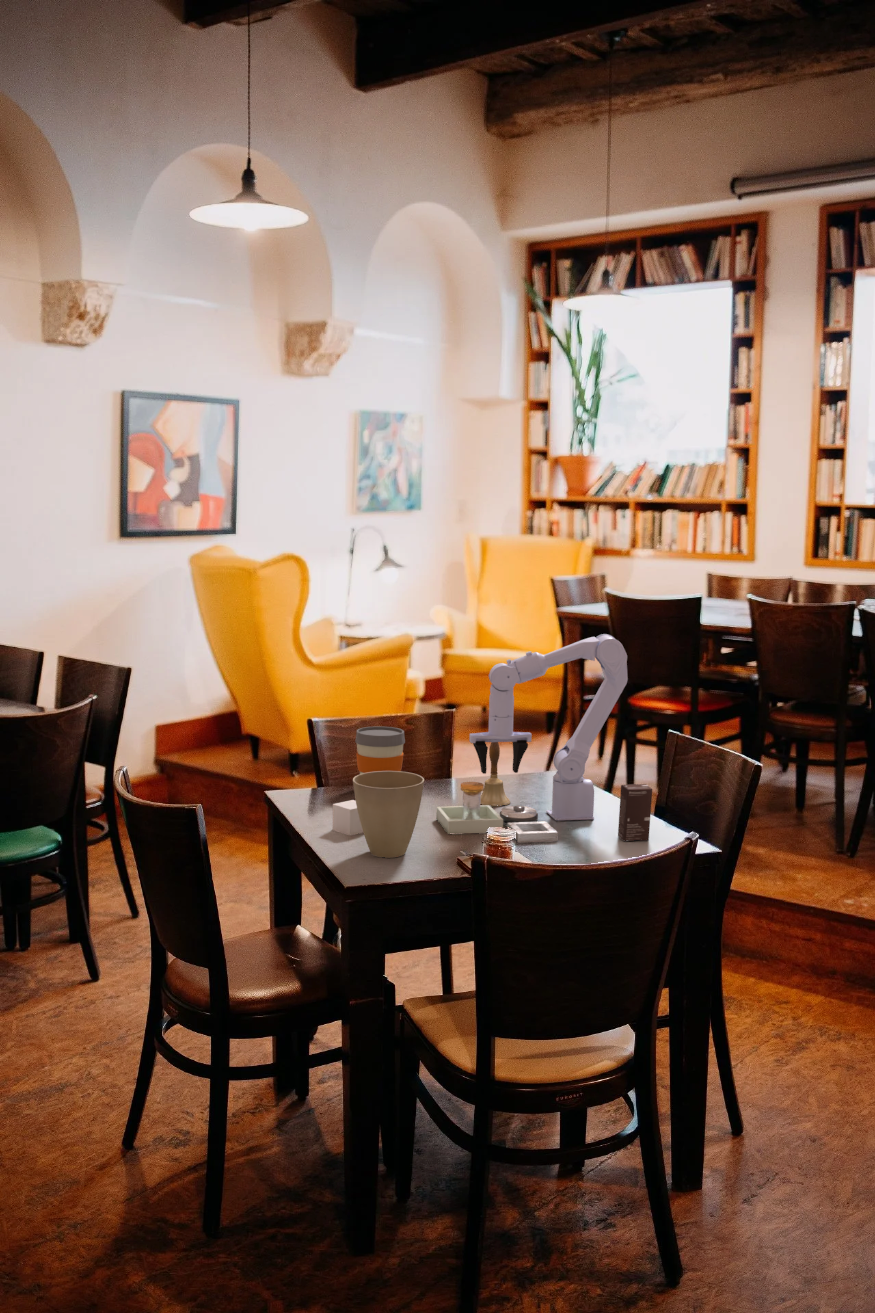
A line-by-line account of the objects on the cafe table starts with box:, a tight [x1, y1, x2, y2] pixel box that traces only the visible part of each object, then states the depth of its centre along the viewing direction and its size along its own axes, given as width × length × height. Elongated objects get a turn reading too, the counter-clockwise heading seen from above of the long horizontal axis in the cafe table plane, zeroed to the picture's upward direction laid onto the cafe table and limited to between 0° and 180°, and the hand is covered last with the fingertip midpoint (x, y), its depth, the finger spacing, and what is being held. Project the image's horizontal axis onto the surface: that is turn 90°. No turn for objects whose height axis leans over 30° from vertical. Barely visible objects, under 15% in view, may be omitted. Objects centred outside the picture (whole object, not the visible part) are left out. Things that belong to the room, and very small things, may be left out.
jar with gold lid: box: [460, 781, 485, 820], centre depth 278 cm, size 5×5×9 cm
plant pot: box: [352, 770, 425, 859], centre depth 256 cm, size 15×15×16 cm
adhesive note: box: [332, 799, 364, 837], centre depth 273 cm, size 6×6×6 cm
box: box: [617, 783, 653, 842], centre depth 271 cm, size 6×4×12 cm
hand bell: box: [481, 742, 511, 807], centre depth 300 cm, size 8×8×16 cm
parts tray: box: [435, 805, 504, 835], centre depth 279 cm, size 13×13×3 cm
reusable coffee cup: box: [355, 726, 406, 774], centre depth 310 cm, size 13×13×15 cm
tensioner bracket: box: [499, 804, 559, 844], centre depth 277 cm, size 9×20×4 cm, turn 12°
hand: (499, 772), depth 288 cm, fingers open, 7 cm apart
